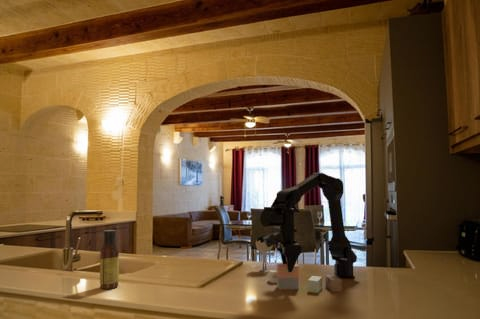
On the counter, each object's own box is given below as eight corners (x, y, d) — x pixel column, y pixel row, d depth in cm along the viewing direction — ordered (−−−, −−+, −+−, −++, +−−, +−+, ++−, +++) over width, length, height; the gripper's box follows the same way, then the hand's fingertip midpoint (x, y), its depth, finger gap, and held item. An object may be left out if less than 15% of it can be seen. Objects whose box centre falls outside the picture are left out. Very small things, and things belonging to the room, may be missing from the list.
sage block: (312, 287, 124) (312, 275, 125) (322, 288, 123) (322, 276, 123) (307, 292, 118) (307, 280, 119) (318, 293, 117) (317, 281, 117)
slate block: (296, 286, 125) (295, 275, 125) (298, 289, 121) (298, 277, 122) (276, 287, 124) (276, 275, 124) (278, 289, 121) (278, 278, 121)
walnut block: (325, 286, 126) (325, 275, 126) (335, 286, 126) (334, 275, 126) (331, 291, 119) (331, 279, 119) (341, 291, 119) (341, 279, 119)
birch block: (285, 279, 135) (285, 269, 136) (289, 281, 132) (289, 271, 132) (268, 281, 133) (268, 270, 133) (272, 283, 130) (272, 272, 130)
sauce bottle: (122, 286, 124) (124, 229, 126) (110, 290, 118) (112, 231, 120) (107, 284, 126) (109, 229, 128) (94, 288, 121) (97, 230, 123)
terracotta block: (296, 275, 125) (296, 264, 125) (298, 277, 121) (298, 266, 122) (277, 275, 125) (277, 264, 125) (278, 278, 121) (278, 266, 121)
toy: (274, 267, 156) (274, 234, 157) (274, 271, 149) (274, 235, 151) (255, 267, 157) (255, 233, 158) (254, 270, 150) (254, 235, 152)
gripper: (260, 223, 133) (260, 265, 132) (269, 228, 115) (270, 276, 113) (289, 223, 134) (289, 264, 133) (302, 228, 116) (303, 276, 114)
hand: (287, 270), depth 123 cm, fingers open, 7 cm apart
